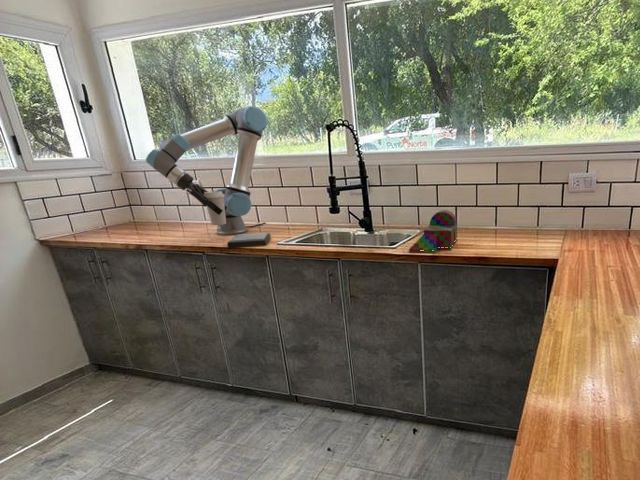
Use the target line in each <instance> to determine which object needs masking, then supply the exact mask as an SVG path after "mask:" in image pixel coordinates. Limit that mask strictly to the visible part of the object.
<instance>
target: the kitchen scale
mask: <svg viewBox="0 0 640 480" xmlns="http://www.w3.org/2000/svg"><path fill="white" fill-rule="evenodd" d="M271 236H272V235H271V233H269V232H258V233H240V234H234V236H233V237H232V238H231V239H230V240H229V241H228V242H226V243H227V244H226V245H227V248H228V249H232V248H233V249H234V248H235V249H236V248H247V247H248V248H249V247H264V246H265V247H266V246H267V245H268V244H269V242H270V241H271V239H272V237H271Z"/></svg>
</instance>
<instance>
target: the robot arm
mask: <svg viewBox="0 0 640 480" xmlns="http://www.w3.org/2000/svg"><path fill="white" fill-rule="evenodd" d="M267 127H268V117H267V114H266V113H265V111H264V110H263V109H261V107H258V106H255V105H248V106H246V107H240V108H239V109H237V110H234V111H233V112H231V113H228V114H226V115H224V116H223V118H222V119H219V120H216V121H213V122H211V123H208V124H205V125H203V126H200V127H197V128H195V129H192V130H188V131H186V132H184V133H175V134H174V135H173V136H172V137H170V138H166V139H163V140H161V142H160V143H159V145H158V148H159V150H158V149H156V148H154V149H152V150H151V151H150V152H149V153H148V154H147V155H146V157H145V162H146V163H147V164H148V165H149V166H150V167H151V168H153V169H154V170H155V171H157V172H158V173H159V174H161V176H163V177H165V178H166V179H168V182H169V183H173V184H174V185H176V187H178V188H179V189H180V190H181V191H186V192H187V193H188V194H190V195H191V196H192V197H194V198H195V199H196V200H197V201H198V202H199V203H200V204H202V205H203V207H205V208H207V206H208V207H209V208H210V209H212V210H213V211H214V212H216V213H217V214H218V215H220V214H221V212H222V211H223V210H222V209H220V208H219V207H218V206H216V205H215V204H214V203H213V202H211V201H209V200H208V199H207V198H206V197H205V196H204V193H205V192H209V191H208V190H206V189H205V188H203V187H202V186H201V185H200V184H199V183H194V182H193V181H194V177H193V176H192V175H190V173H186V171H185V170H184V169H182V168H181V167H180V166H178V165H177V164H176V163H177V162H178V161H179V160H180V158H182V156H183V155H184V154H185V153H186V152H188V151H190V150H193V149H196V148H198V147H201V146H203V145H205V144H209V143H212V142H214V141H216V140H219V139H222V138H225V137H227V136H230V135H231V136H236V135H239V136H238V140H237V148H236V152H235V156H234V162H233V167H232V174H231V178H230V183H228V184H227V185H226V186H225V188H219V189H215V190H214V191H222V193H223V194H224V206H225V216H226V224H223V225H216V233H217V235H221V236H231V235H237V234H245V233H246V232H248V229H247V228H256V227H258V226H262V225H266V224H267V223H266V222H263V223H259V224H254V225H253V224H252V225H246V224H245V222H244V220H243V218H242V217H243V216H246V215H248V214H249V212H250V211H251V209H252V201H251V199H250V198H251V190H250V189H249V188H250V187H249V186H250V181H251V176H252V170H253V165H254V162H255V161H254V160H255V157H256V151H257V149H256V148H257V145H258V142H259V141H260V140H261V139H262V137H263V132H264V131H265V130H266V128H267Z"/></svg>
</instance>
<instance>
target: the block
mask: <svg viewBox="0 0 640 480" xmlns="http://www.w3.org/2000/svg"><path fill="white" fill-rule="evenodd" d="M456 238H457V239H456ZM455 240H456V241H455ZM454 241H455V242H454ZM457 242H458V221H457V216H456V215H455V214H454V213H453V212H452V211H450V210H447V209H442V210H439V211H437V212H436V213H434V214H433V215H432V217H431V218H430V221H429V224H428V226H427V227H426V228H425V229H423V234H422V235H421V236H420V237H419V238H418V240H417V241H415V243H413V245H412V246H410V248H409V251H408V252H409V253H411V254H415V253H416V254H436V253H437V252H438V251H452V250H453V248H454V246H455V244H456V243H457ZM453 243H454V244H453ZM452 245H453V246H452ZM438 247H440V248H438ZM441 247H444V248H441ZM445 247H448V248H445ZM450 247H451V248H450ZM420 250H424V251H420ZM432 250H434V251H432Z"/></svg>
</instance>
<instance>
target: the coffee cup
mask: <svg viewBox="0 0 640 480" xmlns="http://www.w3.org/2000/svg"><path fill="white" fill-rule="evenodd" d="M204 196H205V197H206V198H207V199H208V200H209V201H211V202H213V203H214V204H215V205H216V206H218V207H219V208H220V209H222V210H223V211H222V212H221V214H220V215H218V214H217V213H216V212H214V211H213V210H212V209H210V208H209V207H208V206H206V209H207V214H208V216H209V220H210V223H211V226H218V225H223V224H226V216H225V206H224V194H223V193H222V191H215V190H214V191H208V192H205V193H204Z"/></svg>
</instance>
